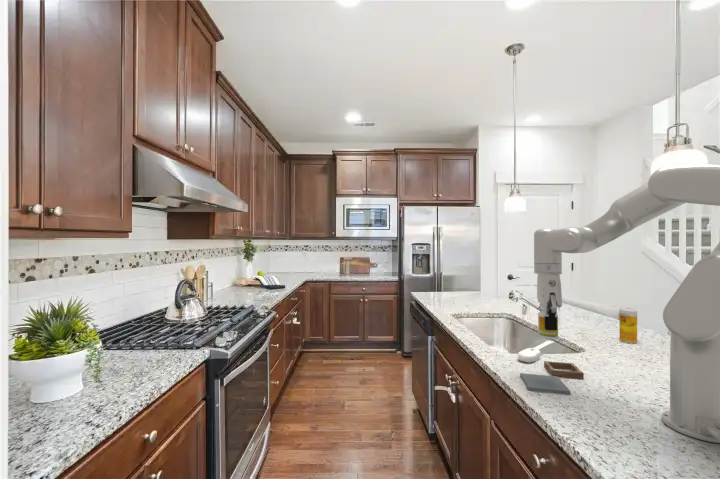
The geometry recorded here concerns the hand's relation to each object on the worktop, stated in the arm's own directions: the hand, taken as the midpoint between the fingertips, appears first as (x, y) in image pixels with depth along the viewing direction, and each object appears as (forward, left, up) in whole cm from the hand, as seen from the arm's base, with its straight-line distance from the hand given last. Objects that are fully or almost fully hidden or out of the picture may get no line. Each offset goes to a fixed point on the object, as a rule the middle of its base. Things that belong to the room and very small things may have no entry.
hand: (548, 326), depth 105 cm
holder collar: (+10, -7, -17) cm, 21 cm away
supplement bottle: (0, 0, -3) cm, 3 cm away
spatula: (+28, -4, -17) cm, 33 cm away
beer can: (+56, -47, -17) cm, 75 cm away
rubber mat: (-2, +2, -17) cm, 17 cm away
